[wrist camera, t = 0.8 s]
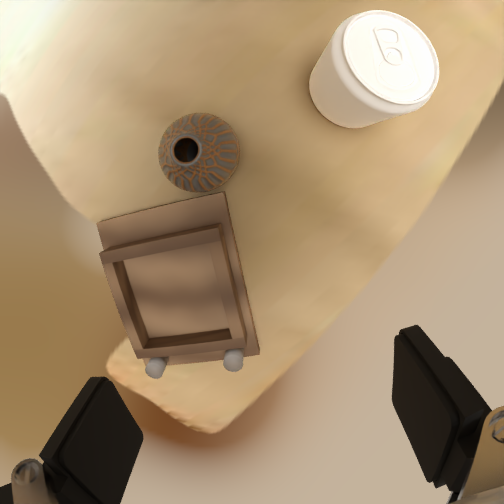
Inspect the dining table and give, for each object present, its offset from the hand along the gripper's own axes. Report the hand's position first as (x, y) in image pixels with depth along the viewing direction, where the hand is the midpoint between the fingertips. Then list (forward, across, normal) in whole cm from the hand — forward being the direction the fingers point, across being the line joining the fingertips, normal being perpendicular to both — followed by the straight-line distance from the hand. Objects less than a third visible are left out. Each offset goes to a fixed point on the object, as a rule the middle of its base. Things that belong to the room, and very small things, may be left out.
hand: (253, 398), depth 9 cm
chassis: (+23, +10, +4) cm, 25 cm away
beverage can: (+24, -12, -12) cm, 29 cm away
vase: (+23, +3, -9) cm, 25 cm away
